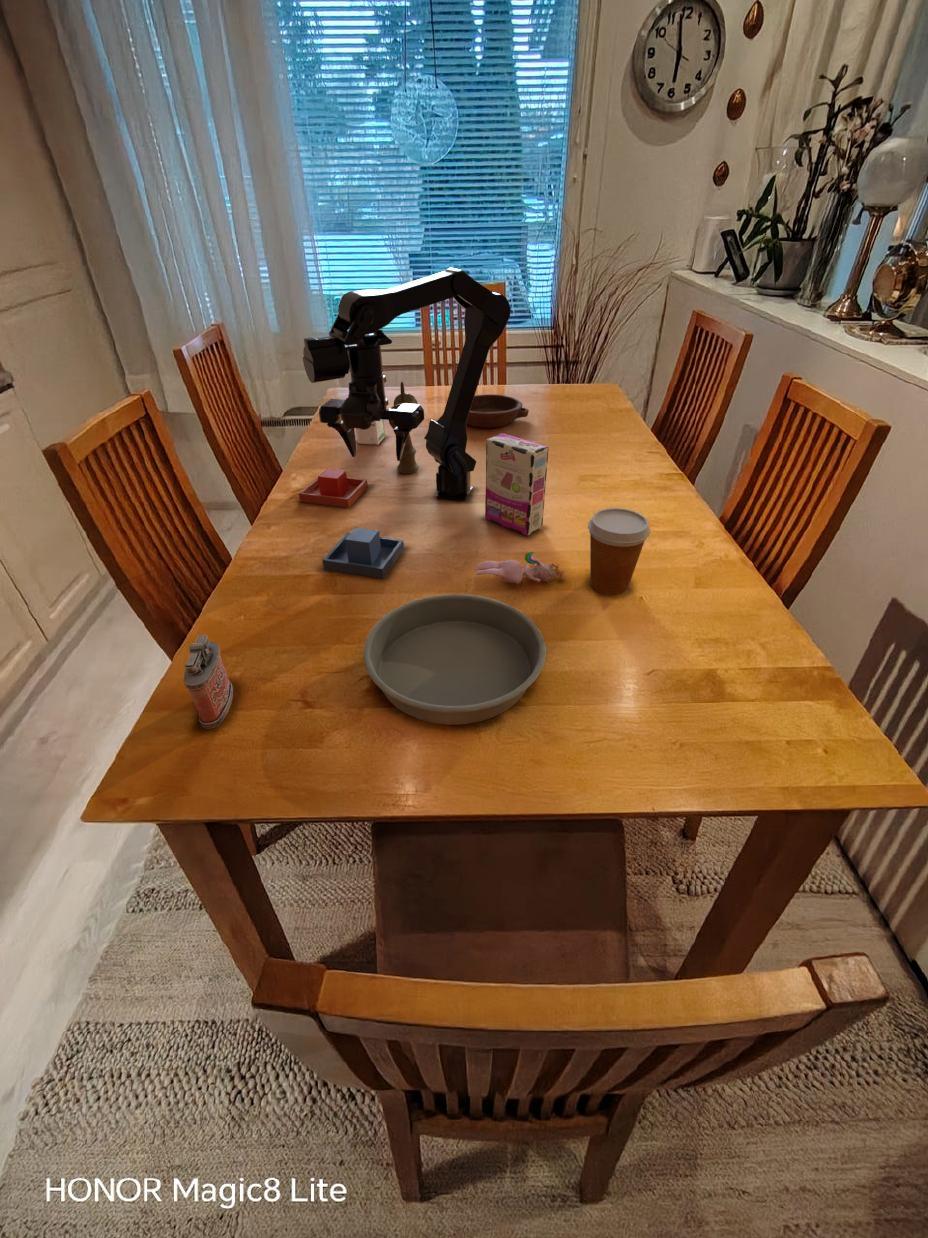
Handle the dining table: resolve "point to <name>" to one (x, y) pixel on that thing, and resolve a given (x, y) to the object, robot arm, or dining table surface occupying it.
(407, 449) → the kendama
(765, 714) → the dining table surface
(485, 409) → the dish
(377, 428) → the syrup box
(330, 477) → the red block
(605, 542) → the disposable coffee cup
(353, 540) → the blue block
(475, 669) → the cake pan
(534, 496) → the candy bar box
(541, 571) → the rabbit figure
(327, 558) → the blue tray
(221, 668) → the lighter
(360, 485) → the red tray
